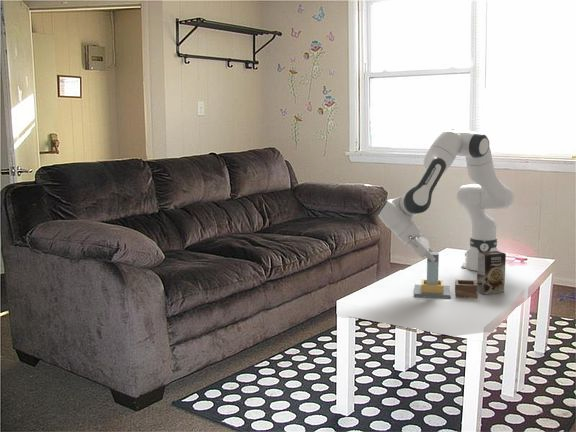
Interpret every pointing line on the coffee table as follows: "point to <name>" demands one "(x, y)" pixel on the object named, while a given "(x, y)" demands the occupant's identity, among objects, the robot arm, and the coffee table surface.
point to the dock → (432, 290)
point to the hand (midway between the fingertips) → (434, 258)
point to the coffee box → (491, 272)
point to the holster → (466, 288)
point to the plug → (432, 269)
